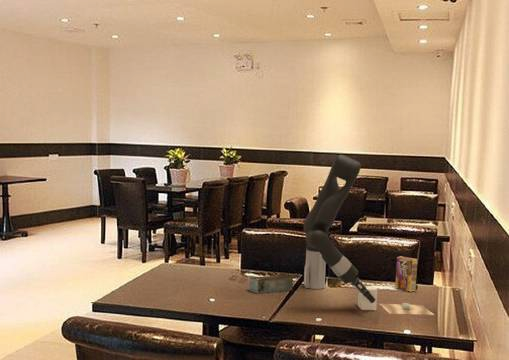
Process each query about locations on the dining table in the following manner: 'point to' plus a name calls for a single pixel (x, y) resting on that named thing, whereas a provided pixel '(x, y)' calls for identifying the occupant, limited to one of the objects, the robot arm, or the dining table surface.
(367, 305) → the white upright block
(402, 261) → the candy box
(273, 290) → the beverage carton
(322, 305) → the dining table surface
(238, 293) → the dining table surface
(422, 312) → the board
